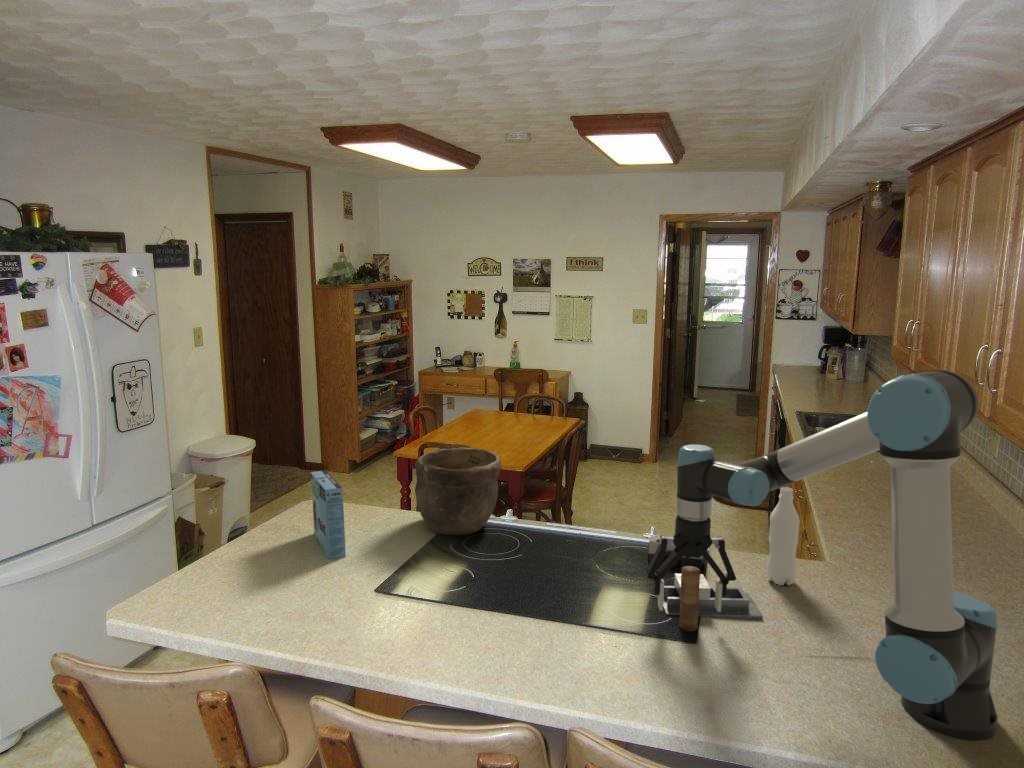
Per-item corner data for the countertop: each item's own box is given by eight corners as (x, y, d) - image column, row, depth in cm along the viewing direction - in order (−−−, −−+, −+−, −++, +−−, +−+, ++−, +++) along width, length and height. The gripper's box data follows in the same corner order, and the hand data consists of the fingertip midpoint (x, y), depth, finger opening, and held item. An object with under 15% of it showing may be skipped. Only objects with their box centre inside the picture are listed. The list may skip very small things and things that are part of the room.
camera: (645, 567, 192) (647, 532, 191) (649, 557, 199) (651, 523, 198) (703, 575, 187) (704, 539, 186) (705, 564, 194) (706, 529, 193)
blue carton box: (346, 570, 189) (343, 487, 186) (327, 573, 187) (324, 490, 184) (331, 545, 207) (328, 469, 203) (313, 548, 204) (310, 471, 201)
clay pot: (468, 559, 196) (468, 472, 193) (397, 541, 210) (396, 459, 206) (517, 531, 219) (517, 452, 215) (450, 516, 232) (449, 441, 228)
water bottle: (797, 589, 179) (804, 494, 175) (768, 586, 180) (774, 492, 176) (792, 577, 186) (799, 485, 182) (764, 575, 187) (769, 483, 183)
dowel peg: (699, 633, 156) (701, 573, 154) (680, 633, 157) (683, 573, 154) (695, 624, 160) (698, 566, 158) (677, 624, 161) (679, 565, 158)
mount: (762, 620, 163) (763, 605, 162) (666, 617, 164) (666, 603, 163) (747, 596, 174) (748, 583, 174) (657, 594, 175) (658, 581, 175)
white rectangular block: (710, 599, 165) (710, 581, 164) (680, 599, 165) (681, 581, 164) (702, 584, 172) (703, 567, 172) (674, 584, 173) (674, 567, 172)
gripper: (744, 510, 158) (739, 601, 161) (635, 508, 159) (632, 599, 162) (754, 522, 150) (748, 617, 154) (639, 520, 151) (636, 614, 155)
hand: (689, 608), depth 158 cm, fingers open, 12 cm apart
